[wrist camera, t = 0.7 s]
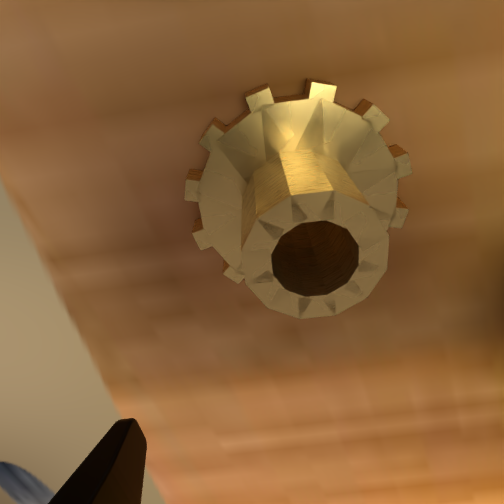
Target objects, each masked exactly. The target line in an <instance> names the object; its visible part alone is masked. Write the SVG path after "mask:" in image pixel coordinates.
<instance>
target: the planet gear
mask: <svg viewBox="0 0 504 504" xmlns="http://www.w3.org/2000/svg"><path fill="white" fill-rule="evenodd" d="M336 88H337V86H336V85H334V84H332V83H330V82H326V81H320V80H314V79H308V78H307V80H306V85H305V90H304V94H299V95H291V96H283V97H276V98H272V95H271V92H270V89H269V87H268V84H265V85H262V86H260V87H258V88H255V89H253V90H251V91H248V92H246V93H245V96H246V100H247V103H248V106H249V109H248V110H246V111H245V112H244V113H243V114H241V115H240V116H239V117H237V118H236V119H235V120H234V121H232V122H231V123H230V124H229V125H227V126H225V125H224V124H223V123H222V122H220V121H219V120H218V119H217V118H214V119H213V121H212V122H211V124H210V125H209V126H208V128H207V129H206V131H205V132H204V133H203V135H202V137H201V139H200V142H199V144H200V145H201V146H203V147H204V148H205V149H207V150H208V151H209V152H210V154H209V157H208V159H207V162H206V165H205V167H204V170H203V171H202V170H194V169H190V170H189V173H188V175H187V178H186V184H185V200H186V201H193V202H198V203H199V208H200V213H201V218H200V219H197V220H195V223H194V227H193V231H192V235H193V237H194V239H195V241H196V243H197V245H198V246H199V248H200V250H204V249H207V248H209V247H212V246H213V248H214V249H215V250H216V251H217V252H218V253H219V254H220V255H221V256H222V257H223V258H224V265H223V275H225V276H227V277H228V278H230V279H231V280H233V281H234V282H236V283H237V284H239V283H240V282H241V281H242V280H243V279H244V278H245V283H246V285H247V286H248V287H249V288H250V289H251V291H252V292H253V293H254V294H255V295H256V296H257V297H258V298H259V299H260V300H261V301H262V303H263V304H264V305H265V306H266V307H267V308H269V309H272V310H275V311H278V312H281V313H284V314H287V315H289V316H292V317H295V318H298V319H305V318H315V317H325V316H334V315H337V314H339V313H341V312H342V311H344V310H346V309H348V308H350V307H351V306H353V305H355V304H357V303H359V302H360V301H362V300H364V299H366V298H367V297H368V296H369V294H370V293H371V291H372V290H373V289H374V287H375V286H376V284H377V283H378V281H379V280H380V279H381V277H382V276H383V274H384V273H385V272H386V270H387V262H388V247H389V234H388V233H387V229H388V228H389V227H394V228H402V227H403V224H404V221H405V219H406V216H407V213H408V211H409V209H408V208H407V207H406V205H405V204H404V203H403V202H402V201H401V200H400V199H399V198H398V197H397V189H398V179H400V178H402V177H405V176H408V175H411V174H412V170H411V165H410V160H409V155H408V153H407V152H406V151H405V150H403V149H402V148H401V147H399V146H398V145H397V144H396V145H393V146H390V147H387V146H386V144H385V142H384V140H383V139H382V137H381V135H380V133H379V132H380V131H381V129H382V128H383V127H384V126H385V125H386V124H387V123H388V122H389V121H390V119H389V118H388V117H386V116H385V115H384V114H383V113H382V112H381V111H380V110H379V109H378V108H377V107H376V106H375V105H374V104H372V103H371V102H369V101H367V100H365V99H363V100H362V101H361V102H360V103H359V105H358V106H357V107H356V108H355V109H354V110H351V109H349V108H347V107H345V106H343V105H341V104H339V103H337V102H335V101H333V100H334V96H335V92H336Z"/></svg>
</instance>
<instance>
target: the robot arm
mask: <svg viewBox="0 0 504 504" xmlns="http://www.w3.org/2000/svg"><path fill="white" fill-rule="evenodd" d="M146 450H147V443H146V438H145V436H144V434H143V432H142V430H141V428H140V426H139V424H138V422H137V421H136V420H135V419H134V418H129V419H121V420H118V421H117V422H116V423H115V424H114V425H113V426H112V427H111V428H110V430H109V431H108V432H107V433H106V434H105V436H104V437H103V438H102V439H101V440H100V442H99V443H98V444H97V445H96V447H95V448H94V449H93V450H92V451H91V452H90V454H89V455H88V456H87V457H86V458H85V460H84V461H83V462H82V463H81V464H80V466H79V467H78V468H77V469H76V471H75V472H74V473H73V474H72V475H71V476H70V478H69V479H68V480H67V481H66V482H65V484H64V485H63V486H62V487H61V488H60V490H59V491H58V492H57V493H56V494H55V496H54V497H53V498H52V499H51V500H50V502H49V503H48V504H141V496H142V487H143V478H144V469H145V459H146Z"/></svg>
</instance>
